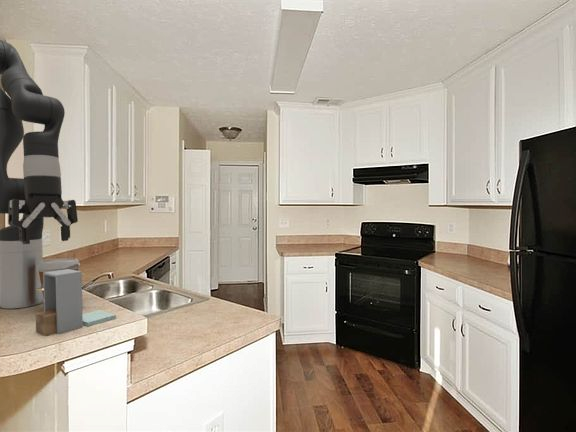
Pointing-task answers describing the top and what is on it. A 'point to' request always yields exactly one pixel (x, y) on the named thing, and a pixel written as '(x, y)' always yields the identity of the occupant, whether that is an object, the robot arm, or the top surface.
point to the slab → (97, 317)
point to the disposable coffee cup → (55, 266)
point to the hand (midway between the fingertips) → (46, 242)
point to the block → (46, 322)
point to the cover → (64, 298)
